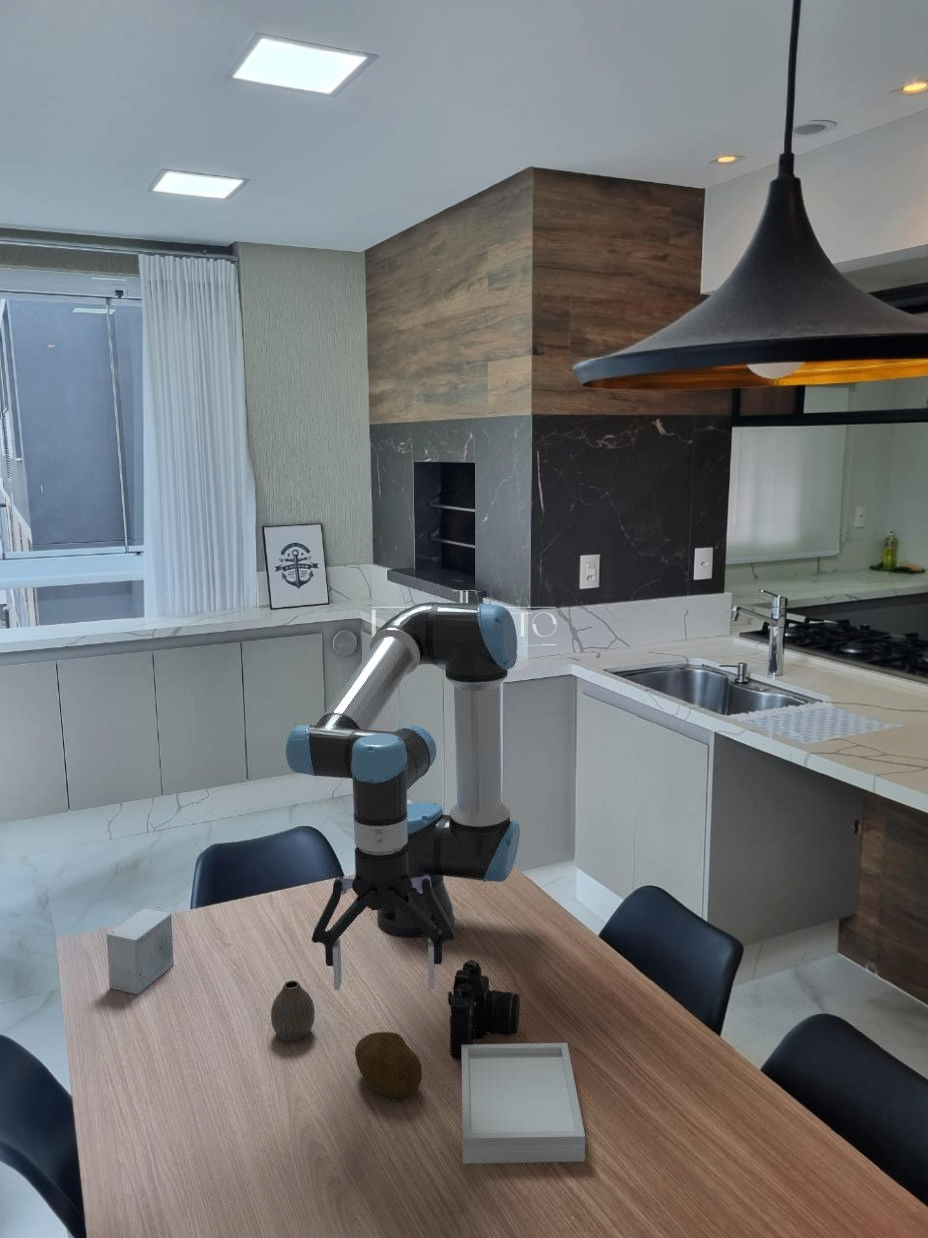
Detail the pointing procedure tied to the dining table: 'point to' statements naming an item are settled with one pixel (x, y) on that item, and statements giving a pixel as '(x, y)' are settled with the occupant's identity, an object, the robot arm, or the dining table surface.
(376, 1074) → the potato
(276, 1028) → the vase
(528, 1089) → the tray
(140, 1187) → the dining table surface
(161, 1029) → the dining table surface
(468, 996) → the camera
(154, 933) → the skincare box
